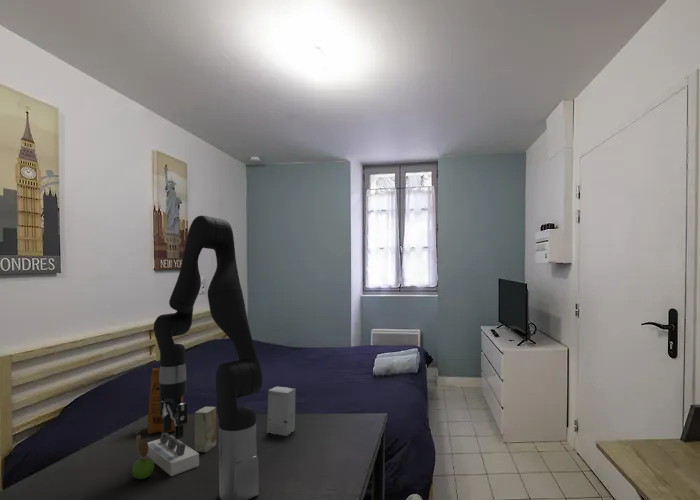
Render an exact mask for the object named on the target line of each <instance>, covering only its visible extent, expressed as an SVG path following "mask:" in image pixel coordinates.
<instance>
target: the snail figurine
mask: <svg viewBox="0 0 700 500" xmlns="http://www.w3.org/2000/svg"><path fill="white" fill-rule="evenodd" d="M139 433H141V430H140V429H139V430H138V431H135V434H136V437H135V440H136V449H137V455H138V456H139V458H138V459H137V460H136V461H135V462H134V463H133V465H132V469H131V472H132V476H133V477H134V478H136V479H137V480H145V479H146V478H148V477H150V476H151V475H152V473H153V472H154V469H155V462H153V460H152V459H151V458H149V457H148V456H147V453H148V443H147V441H146V440H145V439H142V435H140V434H139Z"/></svg>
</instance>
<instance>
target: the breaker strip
mask: <svg viewBox="0 0 700 500" xmlns="http://www.w3.org/2000/svg"><path fill="white" fill-rule="evenodd" d="M170 436H171V437H173V438H175V436H172V435H170ZM144 440H146V441H147V443H148V453H147V456H148V457H149V458H151V459H152V460H153V462H154V464H155V465H157V466H158V467H160V469H162V471H164V472H166V473H167V474H168V475H169V476H170V477H173V476H176V475H179V474H181V473H184V472H187V471H189V470H191V469H194V468H197V467H200V453H199V452H196V451H195V449H193V448H191V447H190V446H188V445H186V444H185V443H183V442H182V441H181V440H179V439H177V440H178V441H179V442H181V443H183V444H185V451H184V454H177V453H176V448H177V446H176V447H175V448H169V447H167V446H168V442H166V443H162V442H160V438H158V439H155V440H151V439H150V438H149V437H146V438H145V439H144ZM168 441H169V440H168Z"/></svg>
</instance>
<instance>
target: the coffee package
mask: <svg viewBox="0 0 700 500" xmlns="http://www.w3.org/2000/svg"><path fill="white" fill-rule="evenodd" d="M159 372H160V368H154V367H153V368H152V370H151V375H150V391H149V396H148V397H149V398H148V399H149V402H148V410H147V434H148V435H152V434H156V433H168V434H169V433H173V432H175V424H174V420H172V429H171V430H170V431H167V432H165V431H163V418H162V415H160V396H159ZM181 401H182V403H184V395H183V396H182V397H181ZM176 415H177V414H176ZM183 418H184V416H183ZM180 420H181V419H180ZM184 425H185V424H183V426H184Z"/></svg>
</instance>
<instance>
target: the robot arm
mask: <svg viewBox="0 0 700 500" xmlns="http://www.w3.org/2000/svg"><path fill="white" fill-rule="evenodd" d="M203 249H209V250H213V251H214V253H215V257H216V269H215V271H214V274H213V276H212V279H211V280H210V283H209V286H208V289H207V301H208V306H209V311H210V316H211V317H212V320H213V321H214V322H215V324H216V325H217V326H218V328H220V330H221V331H222V332H223V333H224V334H225V335H226V336H227V337H228V339H229V340H230V341H231V342H232V344H233V346H234V348H235V350H236V354H237V356H238V357H237V358H238V360H232V361H227V362H223V363H221V364H219V366H217V368H216V372H215V391H216V392H215V394H216V414H217V418H218V475H219V476H218V477H219V479H218V480H219V481H218V482H219V483H218V484H219V485H218V486H219V489H218V490H219V491H218V492H219V494H218V495H219V499H220V500H251V499H252V498H255V497H257V496H259V491H260V490H259V488H260V487H259V486H260V485H259V456H258V455H257V412H256V410H254V409H253V408H250V407H247V406H246V407H245V406H238V399H239V398H243V397H247V396H250V395H254V394H257V393H259V392H260V391H261V389H262V386H263V372H262V368H261V367H262V366H261V363H260V360H259V357H258V353H257V350H256V347H255V344H254V340H253V337H252V333H251V329H250V325H249V319H248V315H247V310H246V304H245V299H244V298H245V297H244V295H243V293H244V292H243V290H242V286H241V282H240V276H239V271H238V265H237V259H236V257H237V256H236V248H235V238H234V232H233V227H232V226H231V224H230V222H229V221H227V220H225V219H223V218H217V217H211V216H209V215H208V216H207V215H198V216H196V217H195V218H194V219H193V220H192V221H191V223H190V226H189V228H188V231H187V236H186V240H185V244H184V249H183V255H182V259H181V265H180V269H179V274H178V276H177V280H176V283H175V285H174V288H173V290H172V293H171V296H170V298H169V302H168V303H169V306H170V308H171V309H172V310H174V311H176V312H173V313H165V314H159V315H158V316H157V317H156V319H155V320H154V322H153V333H154V336H155V340H156V342H157V343H156V344H157V346H158V350H159V365H160V366H159V369H160V372H159V396H160V415H162V418H163V431H165V432H167V431H170V430H171V429H172V420H174V424H175V431H174V438H176V439H177V440H179V439H182V438H184V425H186V424H188V408H187V407H188V406H187V405H188V403H187V402H186V401H185V402H183V403H182V401H181V397H182V396H183V397H184V396H185V395H186V393H187V367H186V366H187V365H186V347H185V345H184V344H181V343H175V342H174V339H173V337H178V336H182V335H185V334H187V333H188V331H189V330H190V329H191V327H192V325H193V316H194V315H193V313H194V305H195V303H196V300H197V298H198V296H199V293H200V290H201V288H202V287H201V286H202V278H201V274H200V270H199V257H200V255H201V253H202V250H203ZM176 414H177V415H176ZM183 416H184V418H183ZM180 419H181V420H180ZM183 424H184V425H183Z"/></svg>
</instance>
